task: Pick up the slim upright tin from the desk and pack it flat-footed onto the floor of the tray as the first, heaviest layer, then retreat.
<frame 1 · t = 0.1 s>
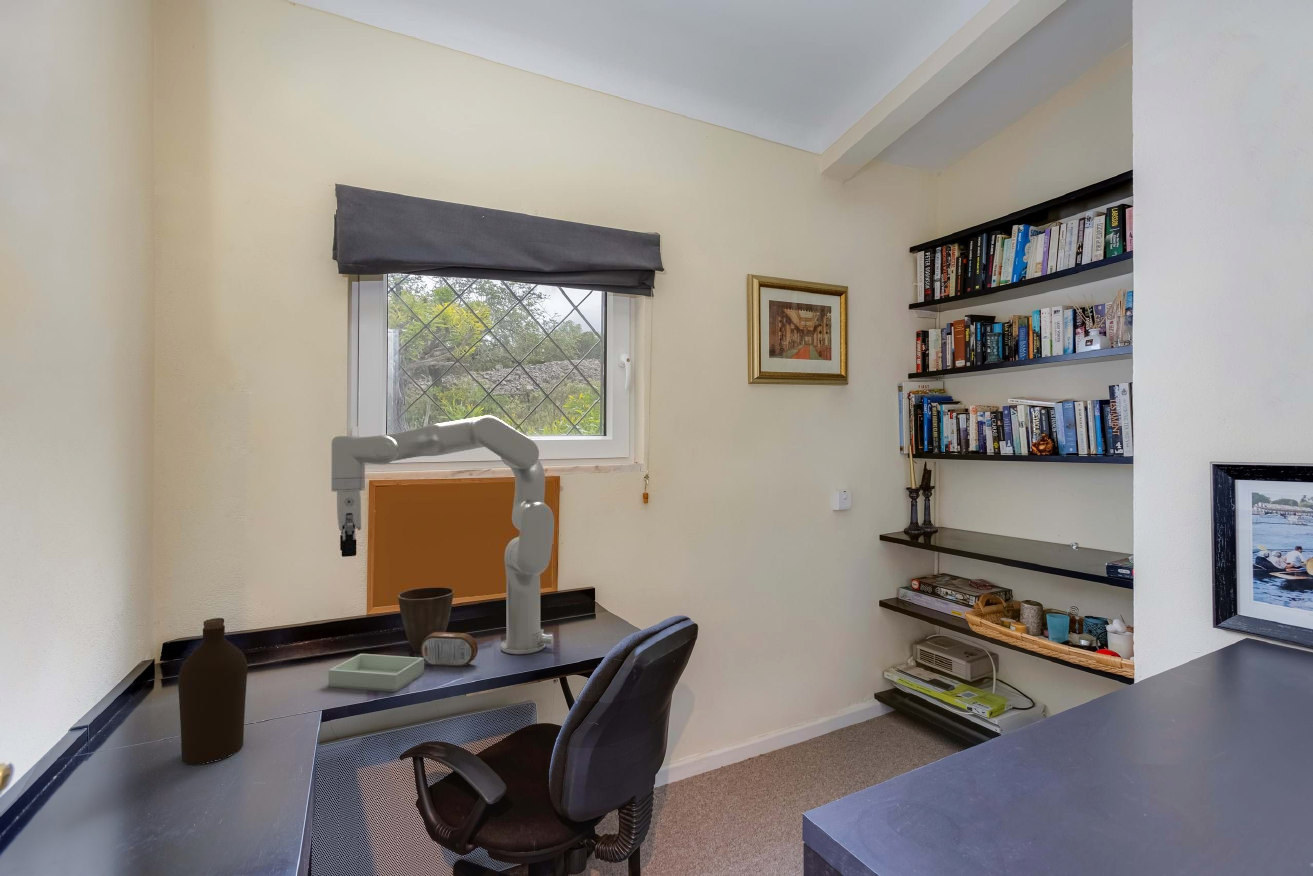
hand: (348, 553, 150), 31 cm above the table, tool pointing down, fingers open, 9 cm apart
plant pot: (426, 649, 171), on the table
tin: (448, 666, 158), on the table
tray: (377, 680, 148), on the table
olive oil: (213, 753, 114), on the table
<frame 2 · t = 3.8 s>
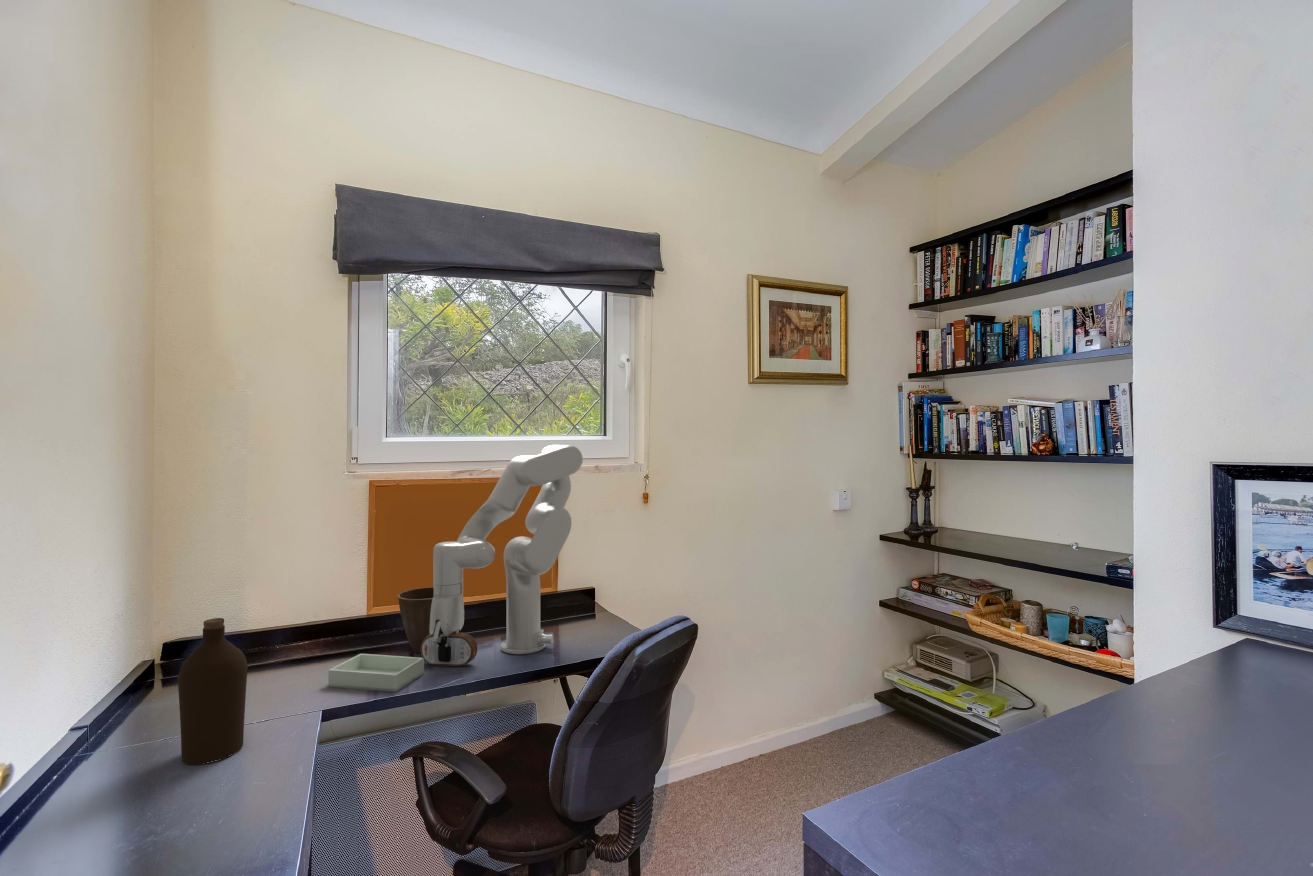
hand: (448, 658, 158), 2 cm above the table, tool pointing down, fingers closed on tin, 2 cm apart
tin: (447, 665, 158), on the table, touching gripper
everything else where it was.
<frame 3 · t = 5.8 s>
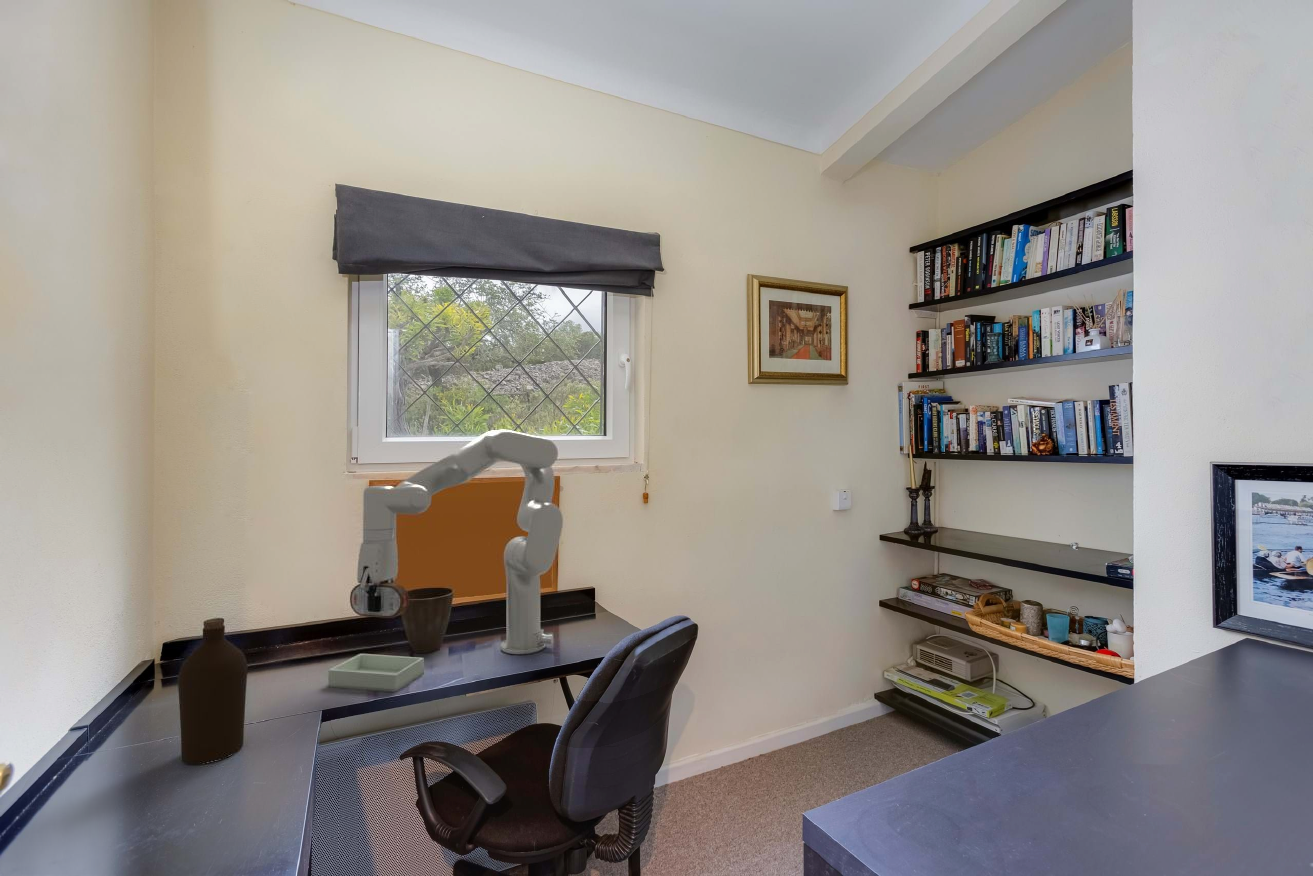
hand: (378, 609, 149), 17 cm above the table, tool pointing down, fingers closed on tin, 2 cm apart
tin: (377, 617, 148), point 15 cm above the table, touching gripper
everything else where it was.
when the fingers open (4 cm above the table, at t = 7.6 s): tin drops 1 cm, resting on tray.
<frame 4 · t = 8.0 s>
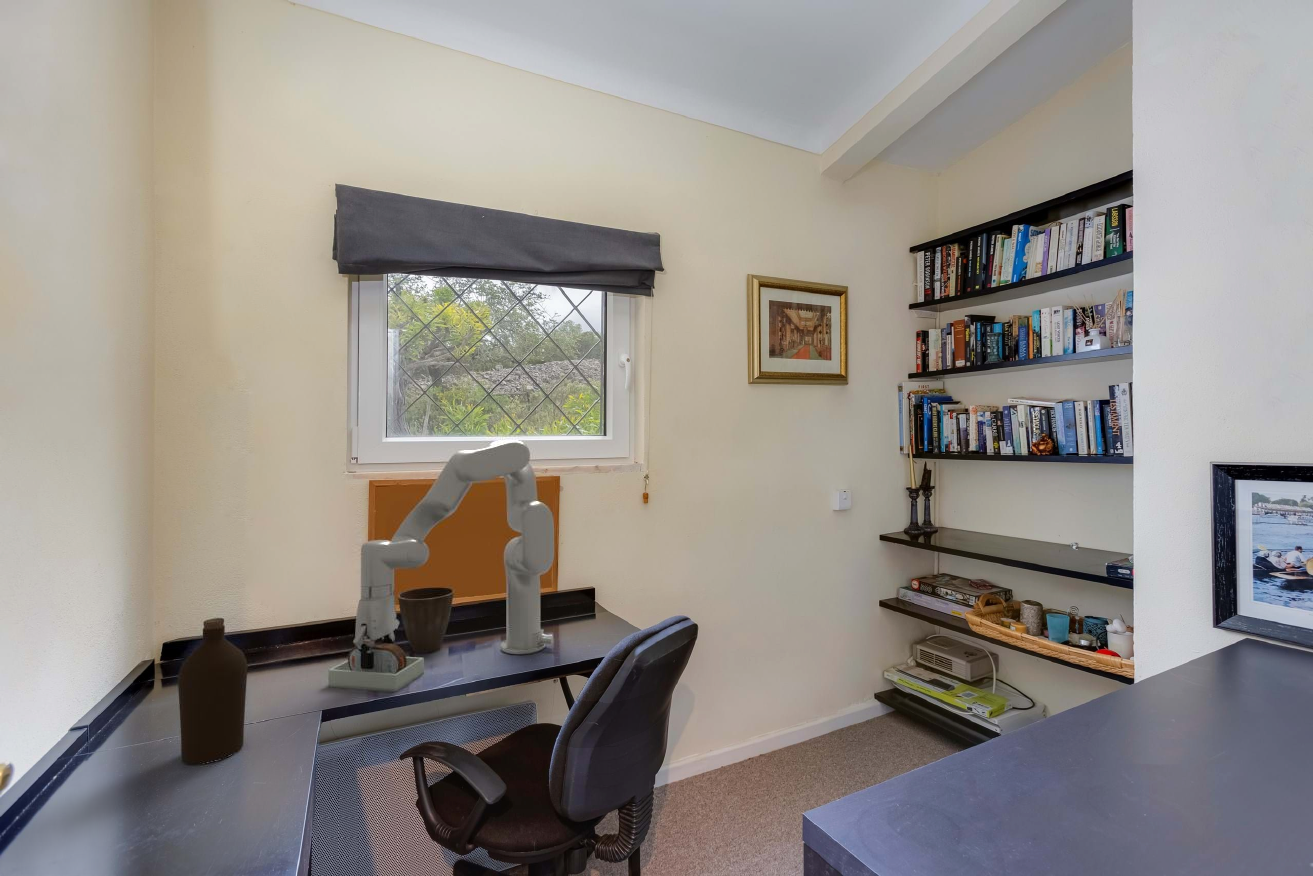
hand: (377, 662, 148), 4 cm above the table, tool pointing down, fingers open, 7 cm apart
tin: (376, 678, 148), resting on tray
everything else where it was.
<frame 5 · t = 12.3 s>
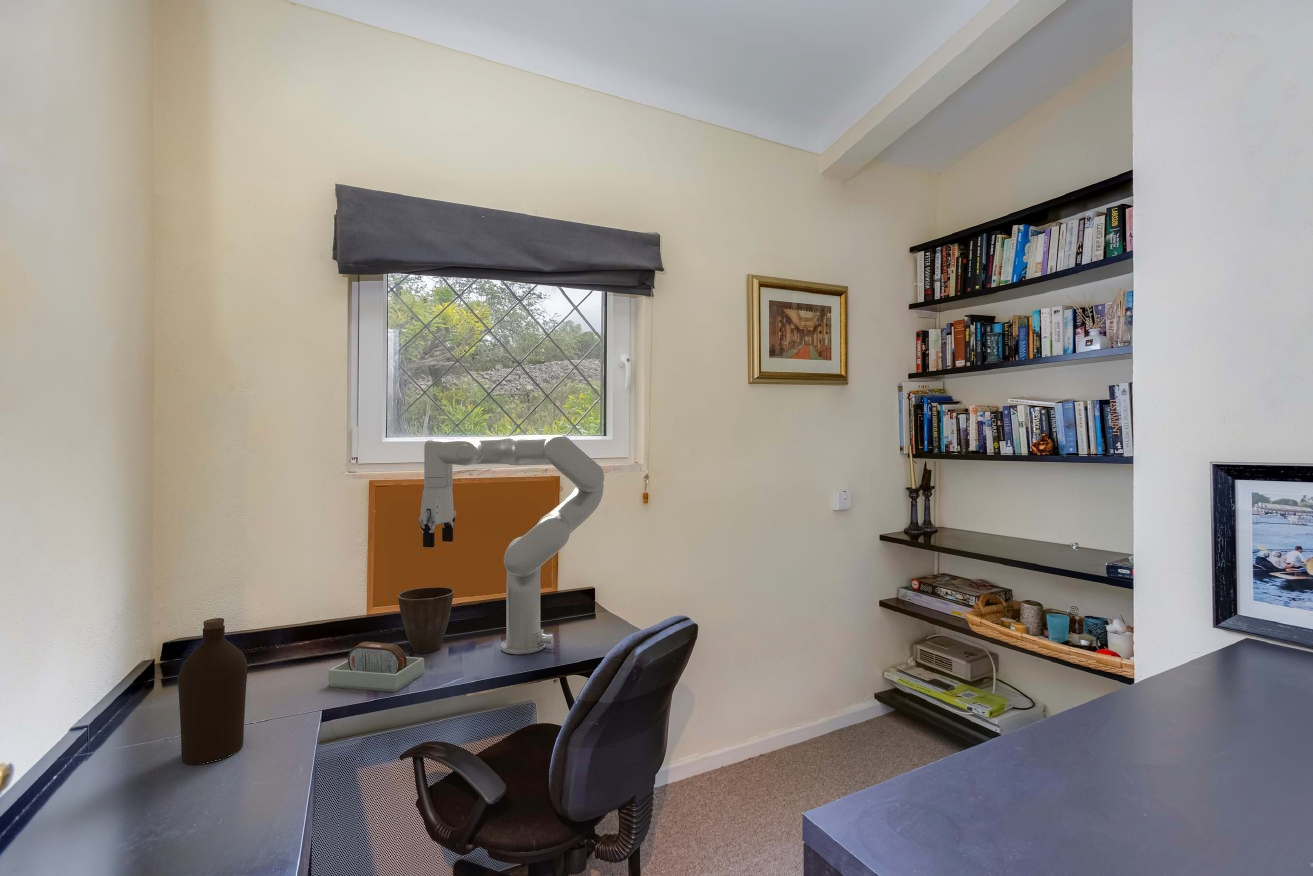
hand: (438, 544, 169), 30 cm above the table, tool pointing down, fingers open, 9 cm apart
nothing on the table moved.
at the end: tin inside the target area on the tray (0.2 cm from its centre), point 0.4 cm above the tray's base; tin tilted 0°; the gripper is holding nothing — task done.
